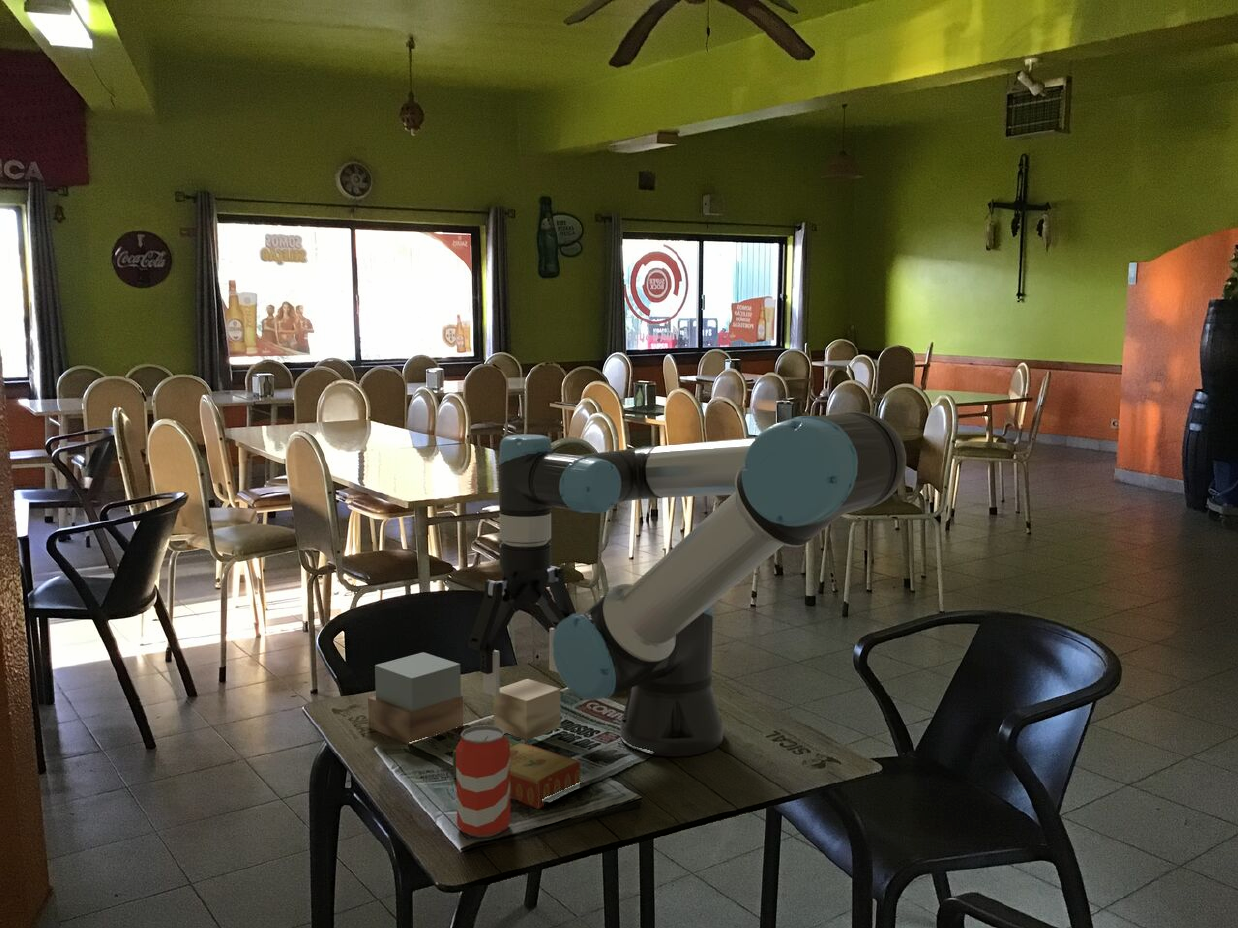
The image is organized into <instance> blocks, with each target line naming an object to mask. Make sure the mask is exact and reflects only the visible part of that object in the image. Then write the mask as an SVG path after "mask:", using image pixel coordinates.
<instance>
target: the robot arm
mask: <svg viewBox="0 0 1238 928" xmlns="http://www.w3.org/2000/svg"><path fill="white" fill-rule="evenodd" d="M553 450H554V449H553V448H552V440H551V438H550V437H548V436H546V435H543V434H542V435H541V434H512V435H511V434H510V435H507V436H505V437H502V439H501V440H500V443H499V454H498V455H499V456H498V462H497V468H498V491H499V495H498V497H499V498H498V500H499V501H498V503H499V505H498V506H499V519H498V520H499V523H498V524H499V539H500V540H501V541H502V542H501V543H500V544H499V550H498V553H499V556H498V557H499V561H498V562H499V563H498V565H499V566H500V568H501V571H502V578H501V580H496V581H495V580H491V579H487V580H486V581H485V583H484V595H483V599H482V601H481V604H480V607H479V609H478V612H477V615H476V618H475V621H474V624H473V627H472V630H471V633H470V635H469V639H468V641H467V646H468V648H471V649H474V650H477V651H479V671H480V673H482V693H483V694H487V695H490V696H492V697H493V696H495V697H496V696H499V695H500V688H501V685H500V684H501V683H500V682H501V681H500V680H501V679H500V678H501V677H500V675H501V674H500V668H501V667H500V666H501V665H500V651H499V650H496V648H497V646H498V644H499V643H500V640H501V639H502V637H503V635H504V634H505V632H506V629H508V626H509V624H510V622H511V621H512V618H513V616H514V614H515V613H517V612H519V610H520V609H521V608H522V607H527V606H529V605H530V604H537V605H538V606H539V608H540V609H541V611H542V612H543V613H544V615H545V616H546V617H547V619H548V620H549V621H550V622H551V624H552V625H553V627H550V628H549V632H548V633H549V637H548V638H549V639H548V641H549V642H548V643H549V644H548V645H549V647H548V655H549V656H548V657H549V659H548V660H549V661H548V670H549V671H551V672H555V673H558V675H559V677H560V679H561V680H562V682H563V683H564V685H565V686H566V687H567V688H568V690H569V691H570V692H571V693H572V694H574V695H575V696H578V697H580V698H581V699H582V700H585V701H597V700H601V699H608V698H611V697H612V696H613V695H616V694H619V693H621V692H624V691H627V690H629V689H630V691H629V692H630V693H629V695H628V698H627V701H626V704H625V706H624V707H625V708H624V710H623V713H622V716H621V719H620V728H619V731H620V732H619V733H620V734H621V737H622V738H623V739H624V740H625V741H626V742H627V743H629V744H631V745H632V746H635V747H638V748H642V749H647V750H650V751H653V752H654V753H653V755H654V756H660V757H661V756H663V757H686V756H687V757H688V756H695V755H700V754H703V753H707V752H709V751H712V750H715V749H716V748H717V747H718V748H719V746H720V745H721V744H722V743H723V740H724V723H723V721H722V717H721V716H720V712H719V708H718V705H717V700H716V698H715V694H714V691H713V686H712V683H713V682H712V680H713V679H712V677H713V676H712V675H713V673H712V672H713V671H712V670H713V631H714V630H713V625H714V623H713V620H714V617H715V614H714V612H713V611H714V610H713V605H714V604H715V603H716V602H718V601H719V600H720V599H721V598H722V597H723V596H725V594H728V592H729V591H730V590H732V589H733V588H735V586H737V585H738V584H739V583H740V582H741V581H743V580H744V579H745V578H746V577H747V576H748V575H750V574H751V573H752V572H754V571H755V570H756V569H758V567H760V566H761V564H763V563H765V562H766V561H767V559H769V558H770V557H771V556H773V555H774V554H775V553H776V552H777V551H778V550H779V549H780V548H782V547H784V546H785V547H791V548H799V547H802V546H805V545H806V544H808V543H809V542H810V541H811V540H812V539H814V538H815V537H816V536H817V535H818V534H820V533H821V532H822V531H823V530H824V529H826V528H827V527H828V526H830V524H832V523H833V522H835V521H836V520H837V519H838V518H840V517H842V516H843V515H844V516H845V514H849V513H853V512H856V511H861V510H864V509H869V508H873V507H874V506H877V505H881V504H882V503H883V502H884V501H886V500H888V498H890V497H891V496H892V495H893V494H894V493H895V492H896V491H897V489H898V488H899V486H900V484H901V483H902V481H903V479H904V476H905V473H906V469H907V451H906V449H905V445H904V442H903V440H902V438H901V435H900V434H899V433H898V432H897V431H896V429H895V427H893V426H892V425H891V424H890V423H889V422H888V421H886V420H884V419H883V418H881V417H879V416H877V415H875V414H870V413H868V412H860V411H859V412H858V411H856V412H855V411H854V412H845V413H836V414H835V413H834V414H827V415H819V416H813V415H803V416H801V415H800V416H796V417H792V418H787V419H785V420H783V421H780V422H777V423H774V424H772V425H770V426H768V427H767V428H765V429H764V430H763V431H761V432H760V433H759V434H758V435H757V436H754V437H743V438H742V437H741V438H732V439H723V440H722V439H721V440H711V441H709V440H708V441H699V442H690V443H689V442H688V443H679V444H677V443H676V444H668V445H667V444H666V445H659V446H653V445H645V446H637V447H633V448H627V449H620V450H611V451H604V452H603V451H602V452H593V453H586V454H565V453H557V452H554V451H553ZM707 496H708V497H709V496H711V497H712V496H714V497H715V496H729V497H727V498H726V499H725V500H724V501H723V502H722V503H721V504H719V506H717V508H715V510H713V511H712V512H711V513H710V514H709V515H707V517H705V518H704V519H703V520H702V521H701V522H700V523H698V525H697V526H695V528H693V529H692V530H691V531H690V532H689V533H688V534H687V535H686V536H685V537H684V538H682V539H681V541H679V542H678V543H677V544H676V545H675V546H674V547H673V548H671V549H670V550H669V551H668V552H667V553H666V554H665V555H664V556H663V557H661V559H660V560H658V561H657V562H656V563H655V564H654V565H653V566H652V567H651V568H650V569H648V571H647V572H645V573H644V574H643V575H642V576H641V577H639V578H638V580H636V581H635V582H634V583H633V584H629V583H628V584H627V583H625V584H624V583H623V584H618V585H616V586H614V587H612V588H611V589H609V590H608V592H607V593H605V594H603V596H602V597H601V598H600V599H598V600H597V602H595V604H593V605H592V606H591V607H590V608H588V609H586V610H585V611H583V612H580V613H579V612H577V611H576V608H575V606H574V603H573V600H572V598H571V595H570V593H569V591H568V590H569V589H568V587H567V585H566V582H565V573H564V569H563V567H558V566H555V565H552V543H550V542H549V540H551V539H552V507H555V508H559V509H565V510H570V511H574V512H578V513H581V514H587V513H592V514H603V513H606V512H608V511H609V510H610V508H612V507H613V506H614V505H615V504H618V503H619V504H620V503H622V502H623V503H625V502H631V501H638V500H650V499H651V500H655V499H664V498H665V499H666V498H684V497H687V498H690V497H707ZM547 585H548V587H549V589H548V588H547ZM549 590H550V591H549Z"/></svg>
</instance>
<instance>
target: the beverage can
mask: <svg viewBox="0 0 1238 928" xmlns="http://www.w3.org/2000/svg"><path fill="white" fill-rule="evenodd" d="M504 734H505V731H503V730H502V729H501V728H500V727H495V726H494V725H489V724H487V725H484V724H483V725H473V726H471V727H468V728H465V729H464V730H462V732H461V733H460V740H459V741H458V743H457V745H456V748H455V750H456V777H455V778H456V826H457V827H458V828H459V829H460V830H461V831H462V832H463V833H465V834H467V835H469V836H470V837H471V836H472V837H475V838H479V839H480V838H489V837H493V836H495V835H499V834H501V833H502V832H503V831H505V830H507V829H508V827H509V825H510V823H511V798H510V744H509V742H508V741H507V739H506V737H505V736H504Z"/></svg>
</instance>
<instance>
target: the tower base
mask: <svg viewBox="0 0 1238 928" xmlns="http://www.w3.org/2000/svg"><path fill="white" fill-rule="evenodd" d="M463 696H464V695H461V696H460V697H457V698H454V699H451V700H448V701H445V702H441V703H438V704H435V705H432V706H429V707H426V708H423V709H419V710H416V711H413V712H412V711H409V710H407V709H404V708H402V707H399V706H396V705H394V704H391V703H389V702H386V701H384V700H381V699H378V698H376V695H372V696H369V697H367V703H368V704H367V706H368V709H367V710H368V728H369V729H371V730H374V731H376V732H378V733H381V734H383V735H386V736H387V737H391V738H393V739H396V740H398V741H400V742H402V743H406V744H408V743H409V742H412V741H415V740H419V739H422V738H425V737H430V736H433V737H435V736H434V735H436V734H439V733H441V734H443V733H442V732H444V733H446V732H445V731H447V732H449V731H448V730H450V729H453V728H456V727H458V728H460V727H459V726H461V727H463V726H464V699H463V698H464V697H463ZM462 725H463V726H462ZM456 729H457V728H456ZM453 730H454V729H453ZM450 731H451V730H450ZM439 735H440V734H439ZM436 736H437V735H436ZM430 738H431V737H430Z"/></svg>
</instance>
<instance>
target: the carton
mask: <svg viewBox="0 0 1238 928" xmlns="http://www.w3.org/2000/svg"><path fill="white" fill-rule="evenodd" d="M506 739H507V741H508V742H509V744H510V796H511V797H513V798H516V799H517V800H519V801H521V802H523V803H522V804H524V803H525V804H524V805H527V806H530V807H533V808H535V809H537V810H538V809H541V808H543V807H545V806H544V803H543V802H541V801H542V799H544V798H545V797H547V796H550V795H553V794H555V793H557V792H559V791H561V790H564V789H565V788H568V787H570V786H572V785H575V784H576V783H579V782H580V783H581V763H580V761H579V760H577V759H575V758H572V757H568V756H565V755H562V754H558V753H556V752H552V751H551V750H550V751H549V750H546V749H543V748H540V747H537V746H534V745H528V744H525V743H522V742H519V741H516V740H513V739H510V738H507V737H506ZM452 771H453V777H454V778H456V749H454V750H453V753H452ZM519 801H518V802H519ZM521 802H520V803H521ZM542 806H543V807H542Z"/></svg>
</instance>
